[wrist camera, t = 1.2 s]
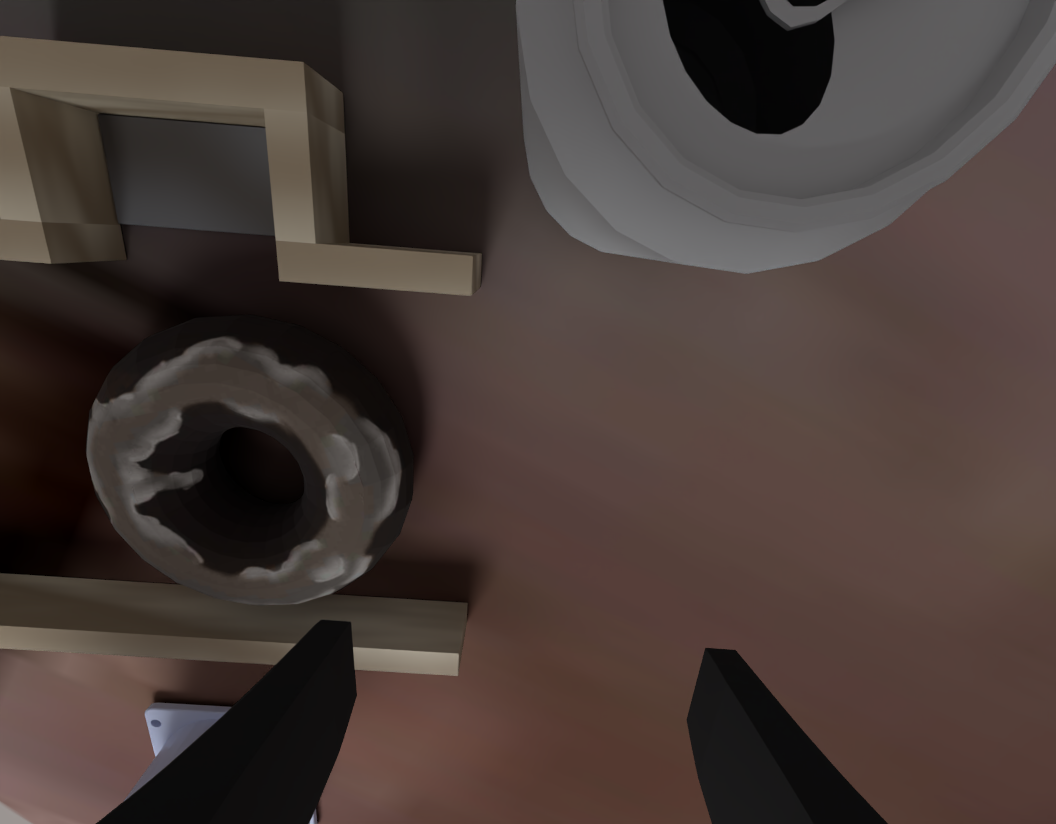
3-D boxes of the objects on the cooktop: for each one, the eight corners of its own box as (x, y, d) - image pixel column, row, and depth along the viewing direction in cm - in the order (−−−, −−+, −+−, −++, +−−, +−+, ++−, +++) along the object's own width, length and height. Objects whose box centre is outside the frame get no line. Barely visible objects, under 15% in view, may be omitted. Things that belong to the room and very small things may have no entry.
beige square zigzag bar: (466, 623, 23) (457, 675, 21) (-204, 581, 23) (-308, 629, 20) (488, 105, 16) (479, 77, 13) (-488, 22, 16) (-713, -26, 13)
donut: (314, 250, 18) (257, 253, 14) (473, 500, 21) (461, 555, 18) (81, 391, 20) (-24, 426, 16) (262, 600, 23) (210, 669, 20)
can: (479, 115, 16) (365, -162, 5) (670, -55, 15) (1115, -990, 4) (604, 297, 18) (725, 389, 7) (785, 163, 17) (1308, 5, 6)
